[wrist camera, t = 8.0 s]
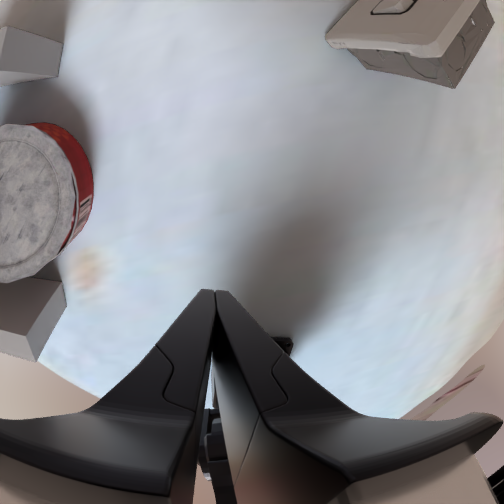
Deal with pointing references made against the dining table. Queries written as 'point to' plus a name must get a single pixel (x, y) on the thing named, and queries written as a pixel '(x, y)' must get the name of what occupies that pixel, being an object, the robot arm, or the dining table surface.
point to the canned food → (40, 196)
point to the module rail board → (28, 289)
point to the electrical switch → (414, 36)
